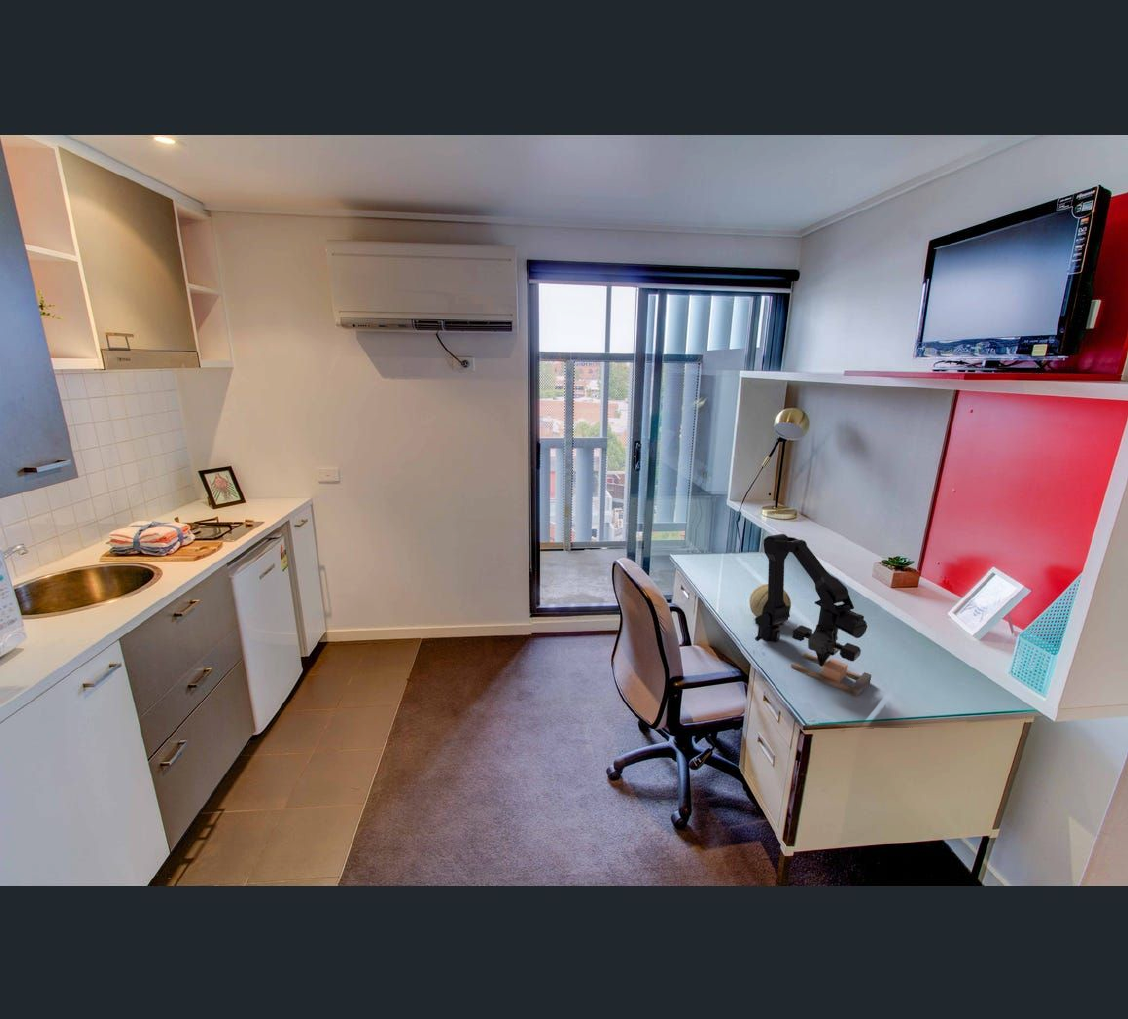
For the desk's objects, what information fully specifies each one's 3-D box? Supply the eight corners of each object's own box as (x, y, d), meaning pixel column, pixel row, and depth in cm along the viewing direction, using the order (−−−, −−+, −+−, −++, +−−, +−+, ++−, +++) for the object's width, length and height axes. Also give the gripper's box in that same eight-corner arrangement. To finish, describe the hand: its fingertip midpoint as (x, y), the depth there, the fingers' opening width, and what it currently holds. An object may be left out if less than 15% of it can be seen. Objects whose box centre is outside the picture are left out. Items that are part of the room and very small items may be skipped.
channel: (790, 669, 160) (792, 659, 159) (804, 658, 167) (805, 648, 166) (857, 699, 146) (859, 688, 145) (869, 686, 152) (871, 674, 151)
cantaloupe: (739, 616, 195) (743, 581, 191) (765, 608, 201) (770, 574, 197) (769, 633, 182) (774, 596, 178) (796, 624, 189) (802, 588, 185)
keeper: (821, 676, 155) (823, 665, 154) (829, 669, 159) (830, 658, 158) (838, 684, 151) (840, 672, 150) (845, 676, 155) (847, 665, 154)
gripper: (787, 619, 155) (780, 662, 159) (851, 643, 141) (842, 690, 145) (802, 608, 162) (796, 650, 166) (865, 630, 148) (856, 675, 153)
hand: (821, 666), depth 157 cm, fingers closed
